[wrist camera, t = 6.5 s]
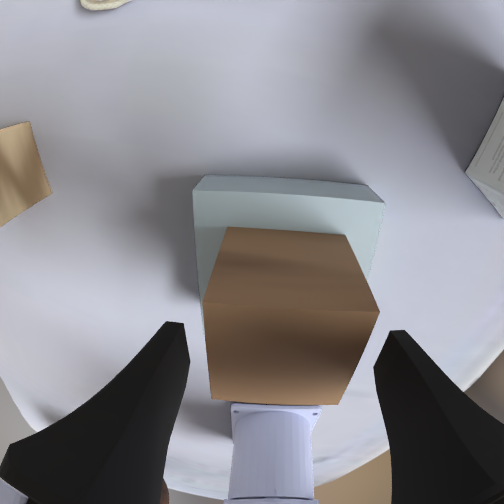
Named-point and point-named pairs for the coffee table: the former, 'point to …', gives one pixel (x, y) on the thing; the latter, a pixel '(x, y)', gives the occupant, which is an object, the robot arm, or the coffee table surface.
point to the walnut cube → (285, 317)
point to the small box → (491, 163)
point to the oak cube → (20, 172)
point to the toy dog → (102, 4)
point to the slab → (282, 214)
